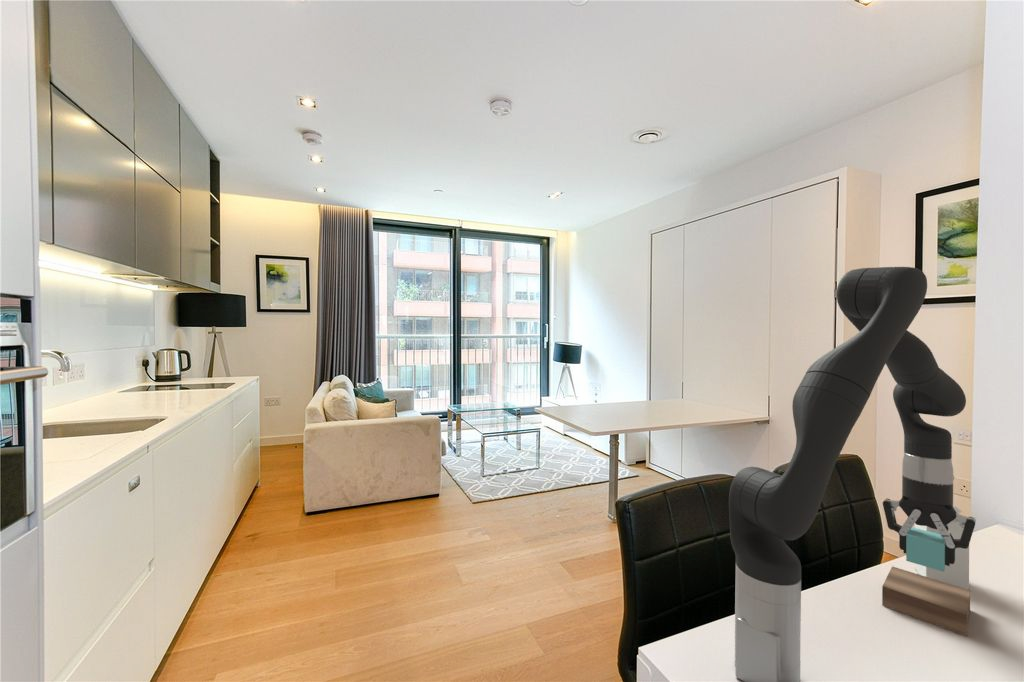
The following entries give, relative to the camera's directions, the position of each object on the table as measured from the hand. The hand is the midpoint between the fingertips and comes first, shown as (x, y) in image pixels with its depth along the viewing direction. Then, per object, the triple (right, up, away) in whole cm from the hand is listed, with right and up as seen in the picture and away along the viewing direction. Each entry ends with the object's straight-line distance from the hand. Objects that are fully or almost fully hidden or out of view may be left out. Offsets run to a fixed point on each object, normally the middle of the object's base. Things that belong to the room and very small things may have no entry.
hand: (926, 558), depth 87 cm
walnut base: (0, -10, 0) cm, 10 cm away
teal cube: (0, -1, 0) cm, 1 cm away
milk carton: (+13, -11, +10) cm, 20 cm away
